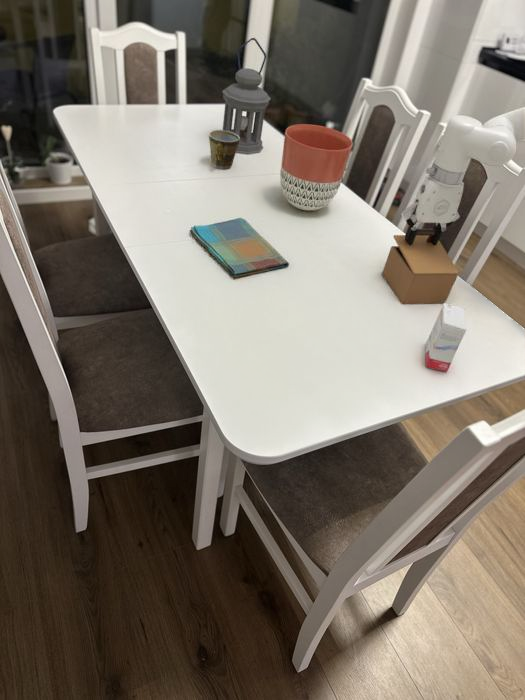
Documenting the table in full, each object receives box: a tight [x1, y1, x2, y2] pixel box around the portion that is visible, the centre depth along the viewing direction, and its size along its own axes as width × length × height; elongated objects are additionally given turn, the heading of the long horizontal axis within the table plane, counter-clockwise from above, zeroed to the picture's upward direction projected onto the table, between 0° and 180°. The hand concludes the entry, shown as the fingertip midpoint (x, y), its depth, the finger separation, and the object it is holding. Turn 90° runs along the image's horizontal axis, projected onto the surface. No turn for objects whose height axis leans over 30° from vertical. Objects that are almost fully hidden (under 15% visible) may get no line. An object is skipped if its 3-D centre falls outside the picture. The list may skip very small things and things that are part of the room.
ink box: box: [425, 302, 467, 373], centre depth 115 cm, size 9×5×12 cm, turn 165°
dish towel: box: [189, 217, 290, 278], centre depth 141 cm, size 17×23×2 cm
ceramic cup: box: [208, 129, 240, 171], centre depth 177 cm, size 13×10×10 cm
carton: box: [381, 245, 459, 305], centre depth 137 cm, size 13×12×9 cm
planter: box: [279, 123, 354, 212], centre depth 160 cm, size 20×20×21 cm
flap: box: [392, 228, 460, 276], centre depth 132 cm, size 14×12×4 cm
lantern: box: [221, 37, 272, 155], centre depth 186 cm, size 17×17×35 cm
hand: (420, 241), depth 136 cm, fingers closed on flap, 6 cm apart
